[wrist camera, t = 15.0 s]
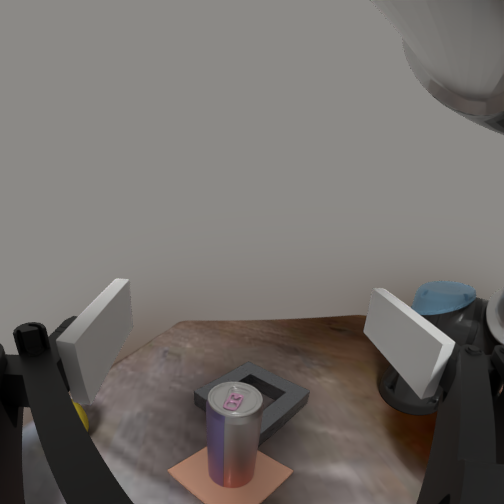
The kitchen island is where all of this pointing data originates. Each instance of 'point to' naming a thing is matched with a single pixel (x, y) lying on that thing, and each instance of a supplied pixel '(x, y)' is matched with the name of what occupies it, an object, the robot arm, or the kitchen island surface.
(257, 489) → the terracotta tile
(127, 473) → the kitchen island surface
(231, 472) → the beverage can
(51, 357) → the robot arm
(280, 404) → the socket block
